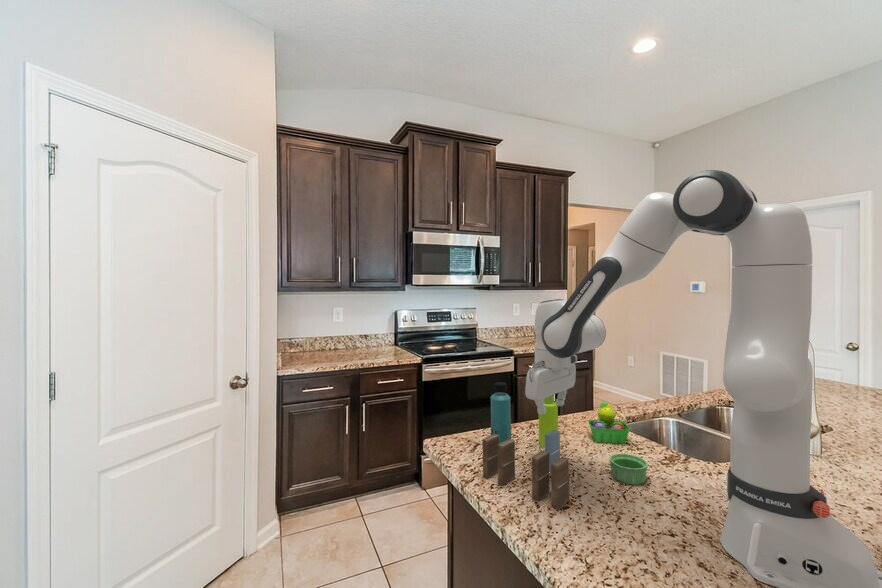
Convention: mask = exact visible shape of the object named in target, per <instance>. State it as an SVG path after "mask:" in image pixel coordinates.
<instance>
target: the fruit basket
mask: <svg viewBox="0 0 882 588" xmlns="http://www.w3.org/2000/svg"><path fill="white" fill-rule="evenodd" d="M616 416H617V415H616V412H615V411H614V409H613V407H612V405H611V404H610V403H608V402H606V401H603V402H601V404H600V406H599V409H598V412H597V417H598V419H589V420H587V421H588V424H589V428H590V430H591V435H592V438H593V440H594V441H595V442H594V443H608V444H622V445H626V444H627V440H628V436H629V433H630V430H631V428H630V427H629V425H628V424H627V423H626V422H625V421H622V420H614V419H615V418H616Z"/></svg>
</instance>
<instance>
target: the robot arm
mask: <svg viewBox="0 0 882 588" xmlns="http://www.w3.org/2000/svg"><path fill="white" fill-rule="evenodd" d="M689 231H691V232H694V233H701V234H707V235H711V236H726V237H727V238H728V240H729V242H730V245H731V283H730V284H731V285H730V286H731V289H730V290H731V291H730V292H731V295H730V297H731V298H730V315H729V320H728V326H727V334H726V339H725V341H726V342H725V349H724V351H725V352H724V358H723V359H724V361H723V371H722V381H723V385H724V388H725V390H726V392H727V393H728V395H729V396H730V397H731V399H732V400H734V402H733V410H732V411H733V412H732V418H731V424H730V428H729V429H730V431H729V432H730V439H729V440H730V443H729V445H730V448H729V449H730V451H729V452H730V454H729V455H730V459H729V460H730V466H729V468H728V469H727V473H726V493H727V498H728V506H727V513H726V518H725V522H724V526H723V529H722V531H721V533H720V536H719V540H720V541H719V542H720V544H721V546H722V547H723V549H724V550H725V551H726V553H727V554H729V555H730V556H731V557H733V559H734V560H736V561H737V562H739V563H740V564H741V565H743V567H745V568H746V570H747V571H748V573H750V575H751V576H752V577H753V578H755V579H756V580H757V581H759V582H761V583H764V584H767V585H770V586H772V587H776V588H882V571H881V570H880V569H878V568H877V566H876V563H875V561H874V559H873V556H872V554H871V552H870V550H869V547H867V545H866V543H865V542H864V541H863V540H862V539H861V538H860V537H858V536H857V535H856V534H854V533H853V532H852V531H850V530H849V529H848V528H847V527H846V526H844V525H843V524H842V523H840V521H838V520H836V519H835V518H834V517H833V516H832V515H830V514H831V508H830V506H829V505H828V501H827V497H826V495H825V493H824V490H823V489H820V491H819V490H818V489H817V488H815V487H814V486H812V485H811V431H812V430H811V429H812V428H811V427H812V405H813V402H812V401H813V375H814V374H813V365H812V362H811V360H810V358H809V347H810V330H811V318H812V304H813V303H812V295H813V294H812V293H813V291H812V290H813V247H812V240H811V239H812V238H811V234H810V227H809V223H808V220H807V215H806V214H805V212H804V211H803V210H802V209H800V208H799V207H797V206H794V205H791V204H787V203H767V204H765V203H764V204H763V203H759V202H758V198H757V195H756V194H755V193H754V192H753V191H752V189H750V188H749V187H748V185H747V184H746V183H745V182H744V181H743V180H741V179H739V178H738V177H736V176H734V175H732V174H730V173H729V172H726V171H723V170H718V169H709V170H700V171H698V172H695V173H693V174H690V175H689V176H688V177H686V178H685V179H684V180H682V182H681V183H680V184H679V185H678V186H677V188H676V190H675V192H674V194H672V193H671V192H666V191H665V192H664V191H654V192H652V193H649V194H647V195H646V196H645V197H644V198H643V199H642V200H641V201H640V202H639V203H638V204H637V205H636V206H635V207H634V208H633V210H632V211H631V212H630V213H629V215H628V216H627V218H626V219H625V220H624V222H623V223H622V225H621V226H620V228H619V229H618V231H617V233H616V234H615V236H614V237H613V239H612V240H611V241H610V243H609V245H608V246H607V248H606V249H605V251H604V252H603V253H602V255H601V256H600V257H599V259H598V260H597V261H596V262H595V264H594V265H593V266H592V267H591V268H590V270H589V271H588V272H587V273H586V274H585V275H584V277H583V279H582V280H581V281H580V283H579V284H578V285H577V287H576V288H575V289H574V291H573V292H572V294H571V295H570V297H569V298H568V299H567V300H566V299H562V298H561V299H560V298H558V299H557V298H555V299H549V300H543V301H541V302H540V303H538V304H537V306H536V309H535V316H534V334H535V344H534V363H532V364H531V366H530V368H529V369H528V371H527V374H526V378H525V379H526V380H525V391H524V392H525V393H524V394H525V397H526V398H527V399H529V400H530V401H534V402H535V403H534V404H535V405H536V408H537V409H536V410H537V414H538V415H539V414H541V415H543V414H545V413H546V407H544V403H543V402H544V400H545V398H546V397H549V396H551V395H556V394H557V398H556V399H555V402H556V405H557V406H558V407H563V406H565V399H566V396H567V393H568V391H567V390H569V389H572V388H574V386H575V383H576V375H577V369H576V363H577V361H578V356H577V355H578V354H580V353H585V352H589V351H592V350H595V349H598V348H599V347H600V346H602V345H603V343H604V341H605V339H606V334H607V330H606V327H605V324H604V321H602V319H601V318H600V317H599V316H597V315H595V313H596V311H597V310H598V309H599V308H600V306H601V305H602V303H604V301H605V300H606V299H607V298H608V296H610V295H611V294H613V293H614V292H615V291H617V290H619V289H620V288H623V287H625V286H626V285H629V284H631V283H634V282H637V281H640V280H642V279H645V278H646V277H648V275H649V274H650V273H652V271H653V270H654V269H655V268H657V266H658V265H659V264H660V263H661V261H662V260H663V259H664V257H665V256H666V254H667V253H668V251H670V249H671V247H672V246H673V244H674V243H675V242H676V240H677V239H679V237H680V236H682V235H683V234H684V233H686V232H689ZM576 354H577V355H576Z"/></svg>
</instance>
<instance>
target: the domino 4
mask: <svg viewBox="0 0 882 588" xmlns="http://www.w3.org/2000/svg"><path fill="white" fill-rule="evenodd" d="M560 435H561V433H560V430H558V431H557V430H553V431H551V432H549V433H547V434H545V448H544V451H547V452H549V472H550V473H551V463H553V462H555V461H556V460H558V459H559V458H561V436H560ZM550 473H549V474H550Z"/></svg>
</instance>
